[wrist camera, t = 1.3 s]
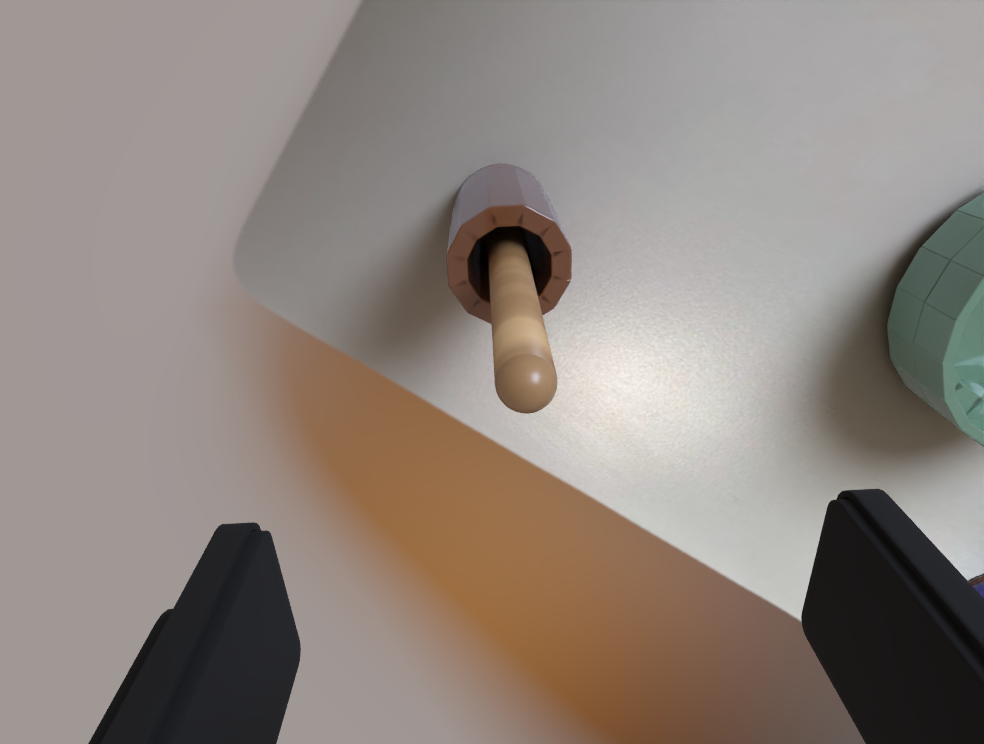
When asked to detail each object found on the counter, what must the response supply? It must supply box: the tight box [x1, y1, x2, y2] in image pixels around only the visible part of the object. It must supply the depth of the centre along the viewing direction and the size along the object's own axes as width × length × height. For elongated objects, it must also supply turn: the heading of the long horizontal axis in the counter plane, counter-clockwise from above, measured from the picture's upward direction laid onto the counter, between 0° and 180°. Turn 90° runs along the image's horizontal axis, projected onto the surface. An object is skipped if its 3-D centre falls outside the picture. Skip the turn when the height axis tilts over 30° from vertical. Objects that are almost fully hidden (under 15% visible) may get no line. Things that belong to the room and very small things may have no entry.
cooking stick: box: [487, 226, 557, 413], centre depth 24 cm, size 2×2×18 cm
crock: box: [446, 164, 572, 324], centre depth 28 cm, size 5×5×9 cm
